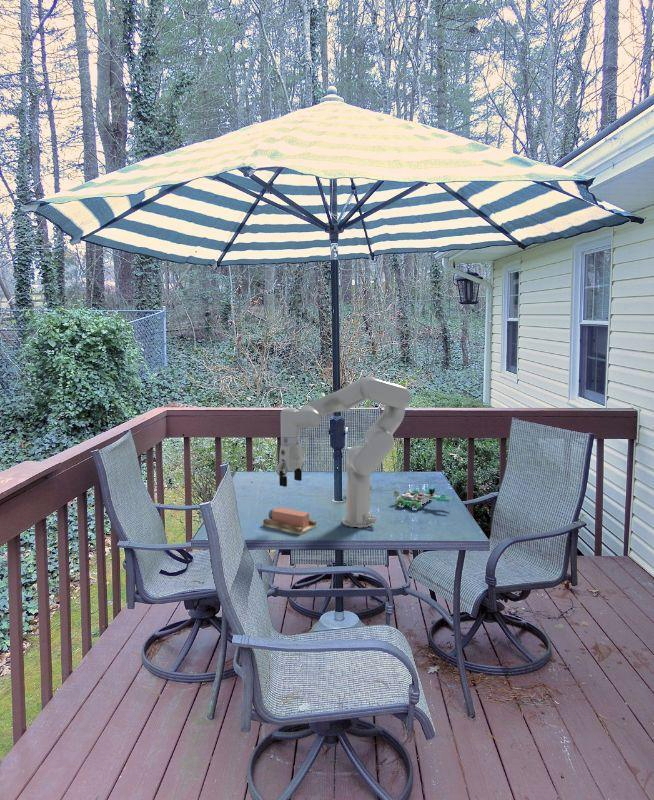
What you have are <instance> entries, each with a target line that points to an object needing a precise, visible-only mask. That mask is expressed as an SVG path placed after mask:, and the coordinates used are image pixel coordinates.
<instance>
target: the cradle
mask: <svg viewBox="0 0 654 800" xmlns="http://www.w3.org/2000/svg"><path fill="white" fill-rule="evenodd" d="M262 521H263V522H262V523H263V524H262V525H263V526H264V527H267V528H269V529H270V528H271V529H274V528H275V529H274V530H278V531H283V532H285V533H289V532H290V533H291V534H293V533H295V534H294V535H297V534H299V535H298V536H302V535H303V534H302V533H304V534H306V533H307V532H306V531H308V530H310V529H312V528H314V527H315V528H317V520H314V519H310V518H309V526H307V527H305V528H304V529H303V528H301V527H297V526H293V525H289V524H285V523H281V522H277V521H273V520H271V519H269V518H264V519H263V520H262ZM315 528H314V529H315ZM312 530H313V529H312ZM310 531H311V530H310ZM305 532H306V533H305ZM308 532H309V531H308ZM301 534H302V535H301Z"/></svg>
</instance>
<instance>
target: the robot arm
mask: <svg viewBox="0 0 654 800" xmlns="http://www.w3.org/2000/svg"><path fill="white" fill-rule="evenodd" d="M368 400H369V401H372V402H374V403H378V404H381V405H384V408H383V411H382V412H381V414H379V417H378V418H377V419H376V420H375V421H374V422H373V424H372V425H371V426H370V427H369V428H368V429H367V431H366V432H365V435H364V442H365V443H366V444H365V445H363V446H362V445H353V446H351V447H350V448H349V449H348V451H347V452H346V454H345V469H346V494H345V495H346V498H345V501H346V502H345V504H346V505H345V516H343V518H342V519H341V523H342V524H343V525H344V526H346V527H348V526H349V528H353V527H358V528H357V529H363V527H364V528H368V526H369V527H371V526H372V525H373V524H375V525H377V524H378V516H377V517H376V516H373V512H371V511H370V507H371V506H370V505H371V490H370V486H371V474H373V473H374V472H375V471H376V470H377V468H378V467H380V465H381V464H382V463H383V462H384V460H385V459H386V458H387V457H388V456H389V454H390V453H391V452H392V450H393V448H394V445H395V438H394V436H393V435H394V433H395V432H396V430H397V429H398V428H399V427H400V426H401V423H402V422H403V421H404V417H405V413H406V407H408V406H409V405H410V403H411V401H412V394H411V391H410V390H409V389H408V388H407V387H405V386H402V385H400V384H397V383H391V382H387V381H383V380H381V379H378V378H376V377H373V376H364V377H362V378H359V379H358V380H356V381H353V382H352V383H350V384H349V385H346V386H344V387H342V388H340V389H338V390H337V391H336V390H335V391H334V392H331V393H329V394H326V395H324V396H321V397H319V398H317V399H314V400H313V401H311V402H309V403H307V404H305V405H303V406H302V407H301V408H300V409H297V408H291V407H289V408H284V409H282V410H281V411H280V447H279V455H278V456H279V459H278V460H279V461H278V464H277V465H276V466H275V470H276V474H278V477H279V487H285V488H286V487H288V477H287V474H288V472H292V471H293V475H294V478H293V479H294V481H299V482H301V481H302V480H303V479H302V478H303V476H302V474H303V472H302V471H303V467H304V462H305V457H304V455H303V454H304V453H303V448H302V442H301V428H302V429H315V428H317V427H319V425H320V424H321V420H322V418H323V417H325V416H327V415H329V414H333V413H337V412H338V413H339V412H345V411H348V410H351V409H352V408H355V407H356V406H358V405H359V404H362V403H364V402H366V401H368Z"/></svg>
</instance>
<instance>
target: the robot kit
mask: <svg viewBox="0 0 654 800" xmlns="http://www.w3.org/2000/svg"><path fill="white" fill-rule="evenodd" d="M435 491H436V487H435V486H430V487H429V488H428V491H426V492H424V494H423V493H422V492H419V490H418V489H413V490H412V491H411V492H410V491H409V490H406V491H405V492H404V493H402V494H401V495H400V491H399V489H395V490H393V496H394V497H395V500H394V502H395V504H396V506H397V507H398V505H401V506H402V505H403V506H405V505H406V506H407V507H408V506H410V507H411V508H412V507H413V508H416V509H417V508H419V507H420V508H422V507H423V505H422V504H424V503H425V504H427V503H428V502H430V501H429V500H431V499H432V500H436V501H437V502H445V503H447V502H448V503H449V502H450V501H452V500H453V497H452V496H450V495H446V494H440V495H438V494H435V493H436V492H435ZM432 500H431V501H432ZM427 501H428V502H427ZM426 502H427V503H426ZM425 504H424V505H425ZM406 506H405V507H406ZM410 507H409V508H410ZM411 508H410V509H411ZM420 508H419V509H420Z"/></svg>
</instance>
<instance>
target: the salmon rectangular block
mask: <svg viewBox="0 0 654 800" xmlns="http://www.w3.org/2000/svg"><path fill="white" fill-rule="evenodd" d="M268 519H269V520H273V521H277V522H281V523H285V524H289V525H293V526H297V527H301V528H303V529H304V528H305V527H307V526H309V519H310V512H306V511H300V510H296V509H290V508H284V507H277V508H275V509H270V510H269V512H268Z"/></svg>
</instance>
